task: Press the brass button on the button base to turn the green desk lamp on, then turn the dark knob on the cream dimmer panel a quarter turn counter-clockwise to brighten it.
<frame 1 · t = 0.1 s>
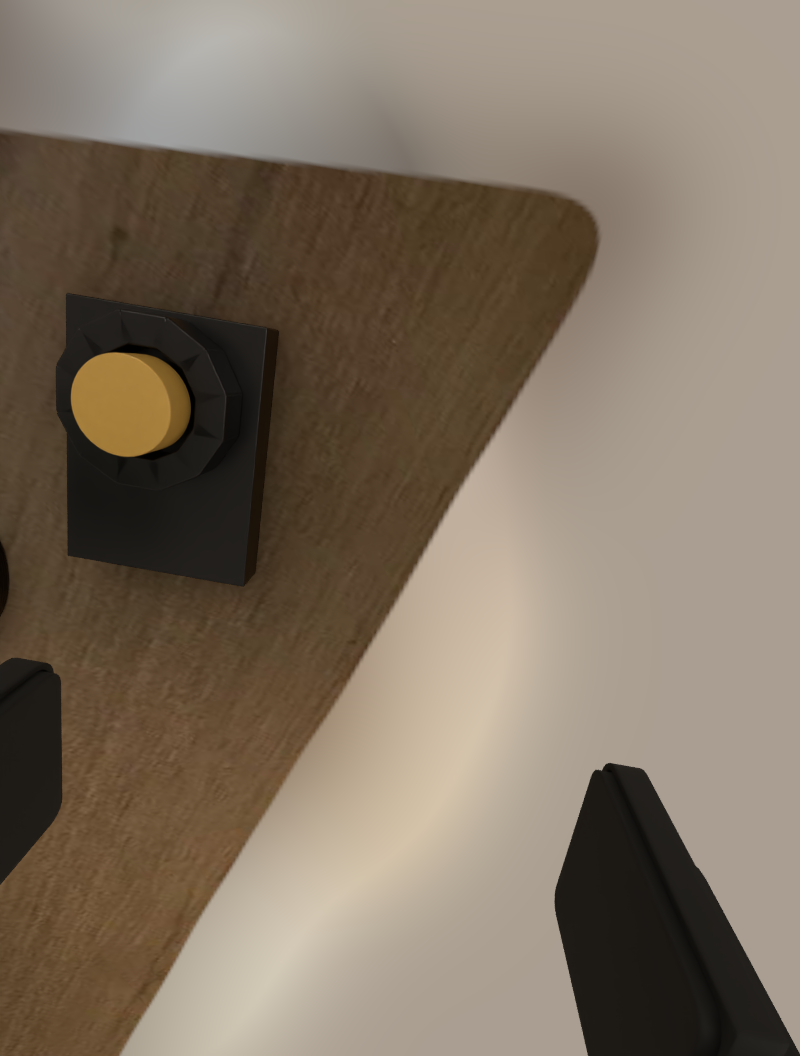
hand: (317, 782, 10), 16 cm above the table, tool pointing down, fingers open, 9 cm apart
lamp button: (133, 404, 20), point 4 cm above the table, slide at 0.1 cm
button base: (178, 444, 25), on the table
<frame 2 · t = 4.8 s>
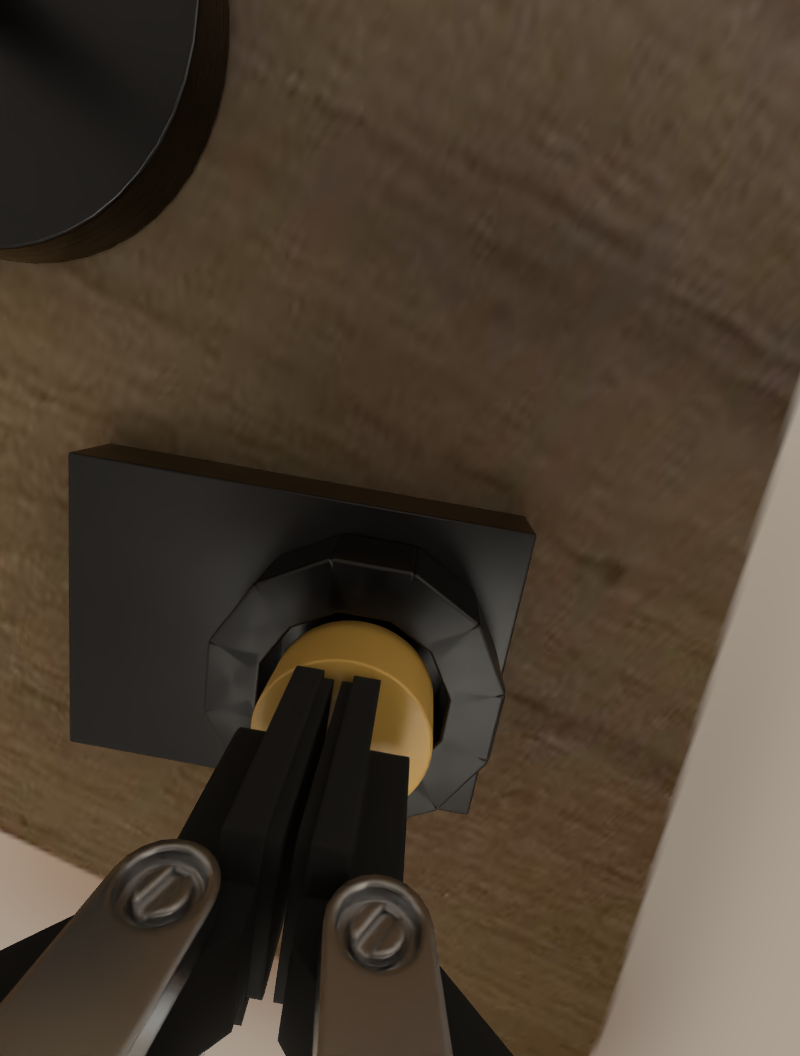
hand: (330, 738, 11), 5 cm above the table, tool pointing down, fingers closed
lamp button: (347, 715, 12), point 4 cm above the table, slide at 0.1 cm, touching gripper
button base: (299, 618, 15), on the table
desk lamp: (3, 11, 12), on the table
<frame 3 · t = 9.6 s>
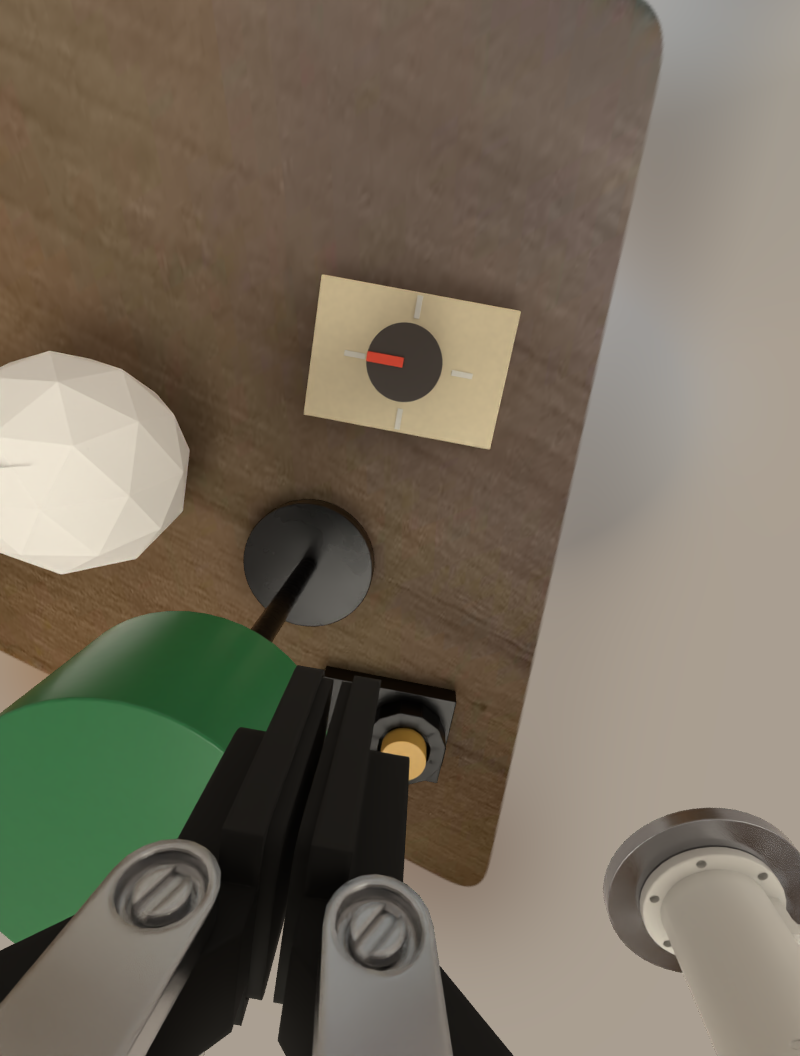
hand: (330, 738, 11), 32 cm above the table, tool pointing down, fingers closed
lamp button: (403, 753, 43), point 4 cm above the table, slide at 0.1 cm
button base: (383, 718, 47), on the table
desk lamp: (311, 560, 44), on the table
geodesic sphere: (132, 450, 42), on the table
dimmer knob: (406, 363, 34), point 6 cm above the table, hinge at 0.0°
dimmer panel: (410, 365, 39), on the table
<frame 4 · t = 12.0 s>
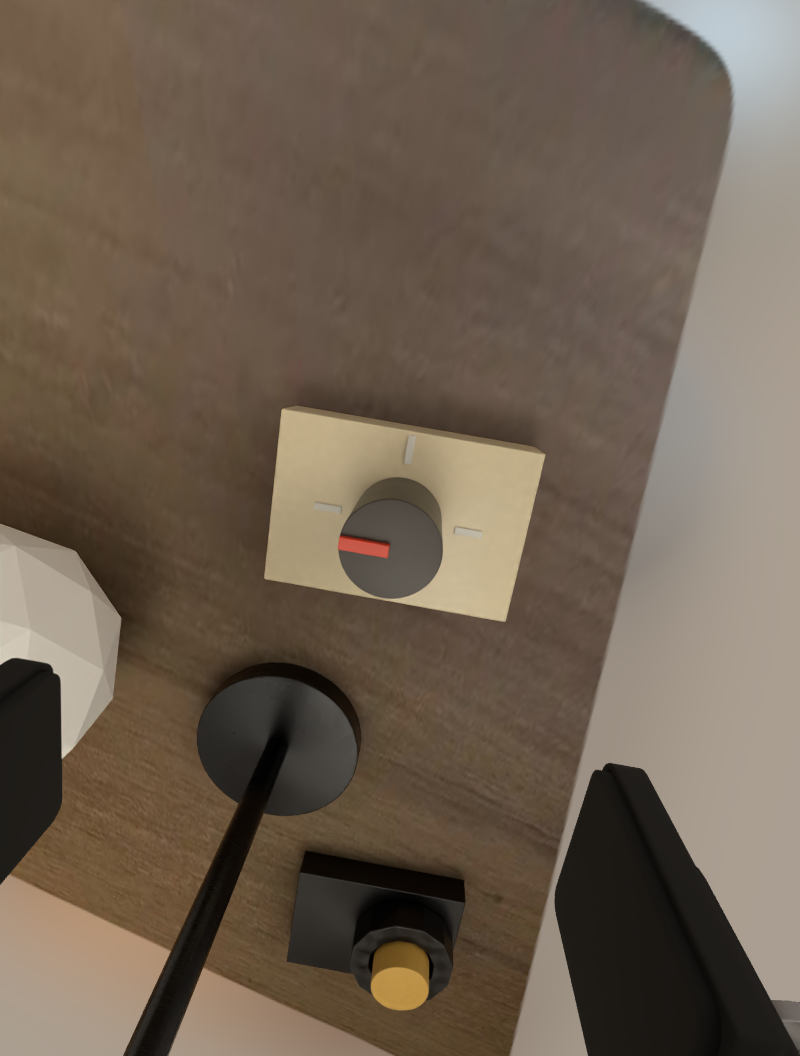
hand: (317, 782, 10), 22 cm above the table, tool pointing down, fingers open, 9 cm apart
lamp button: (400, 974, 35), point 4 cm above the table, slide at 0.1 cm
button base: (375, 909, 39), on the table
desk lamp: (283, 732, 35), on the table
geodesic sphere: (56, 604, 34), on the table
dimmer knob: (394, 534, 25), point 6 cm above the table, hinge at 0.0°
dimmer panel: (401, 506, 31), on the table
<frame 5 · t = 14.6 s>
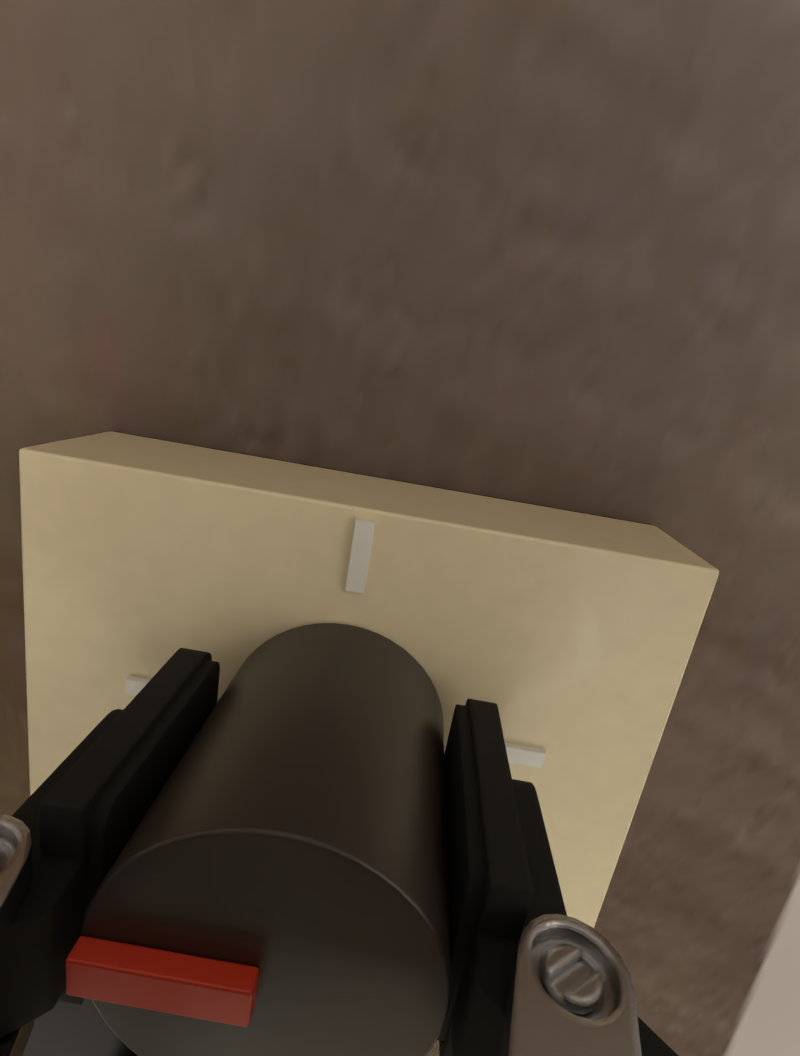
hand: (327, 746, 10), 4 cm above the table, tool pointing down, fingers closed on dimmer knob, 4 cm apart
desk lamp: (144, 1039, 19), on the table
dimmer knob: (306, 823, 9), point 6 cm above the table, hinge at 0.1°, touching gripper
dimmer panel: (355, 648, 14), on the table
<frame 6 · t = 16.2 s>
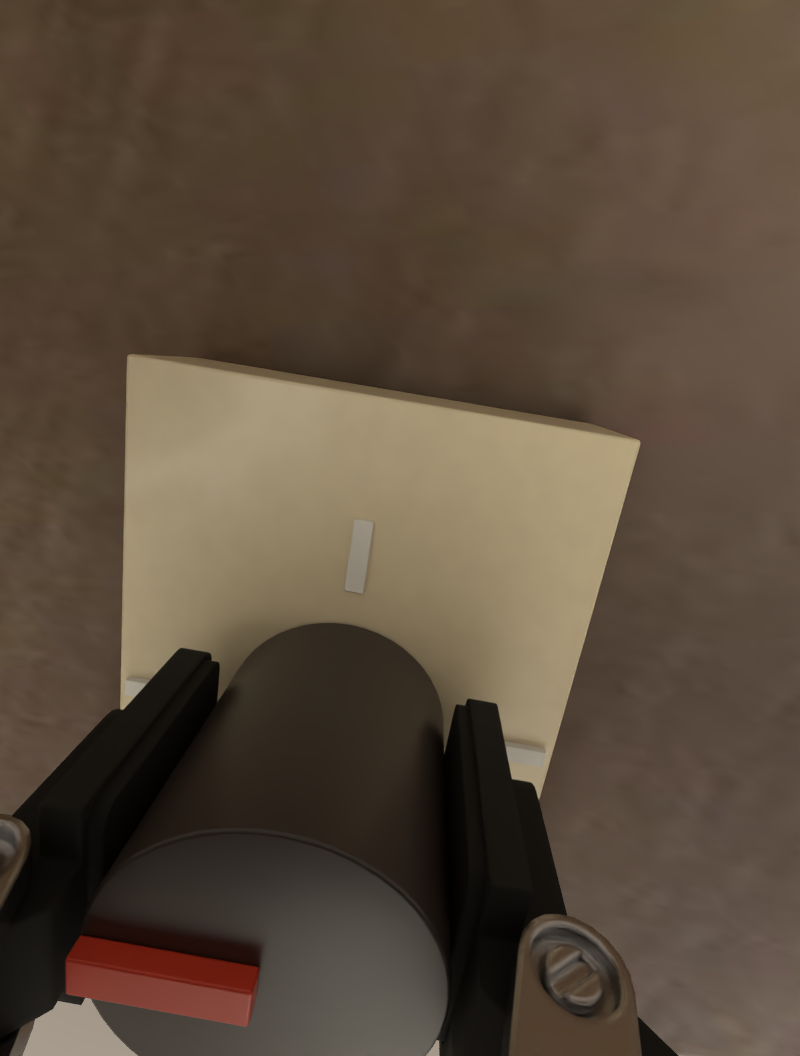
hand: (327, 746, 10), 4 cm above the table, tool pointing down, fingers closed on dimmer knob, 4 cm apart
dimmer knob: (306, 823, 9), point 6 cm above the table, hinge at 89.7°, touching gripper
dimmer panel: (354, 647, 14), on the table
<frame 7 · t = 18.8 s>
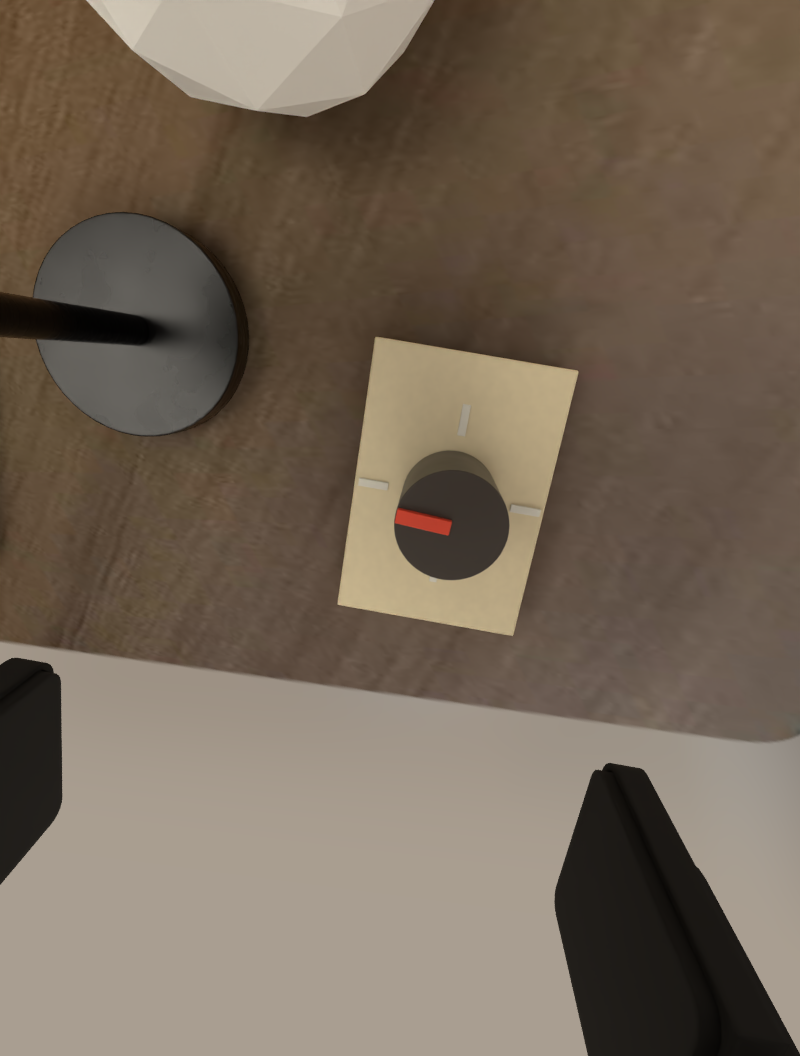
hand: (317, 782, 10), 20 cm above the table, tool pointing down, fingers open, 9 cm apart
desk lamp: (151, 332, 28), on the table
dimmer knob: (450, 511, 23), point 6 cm above the table, hinge at 86.6°
dimmer panel: (447, 483, 29), on the table
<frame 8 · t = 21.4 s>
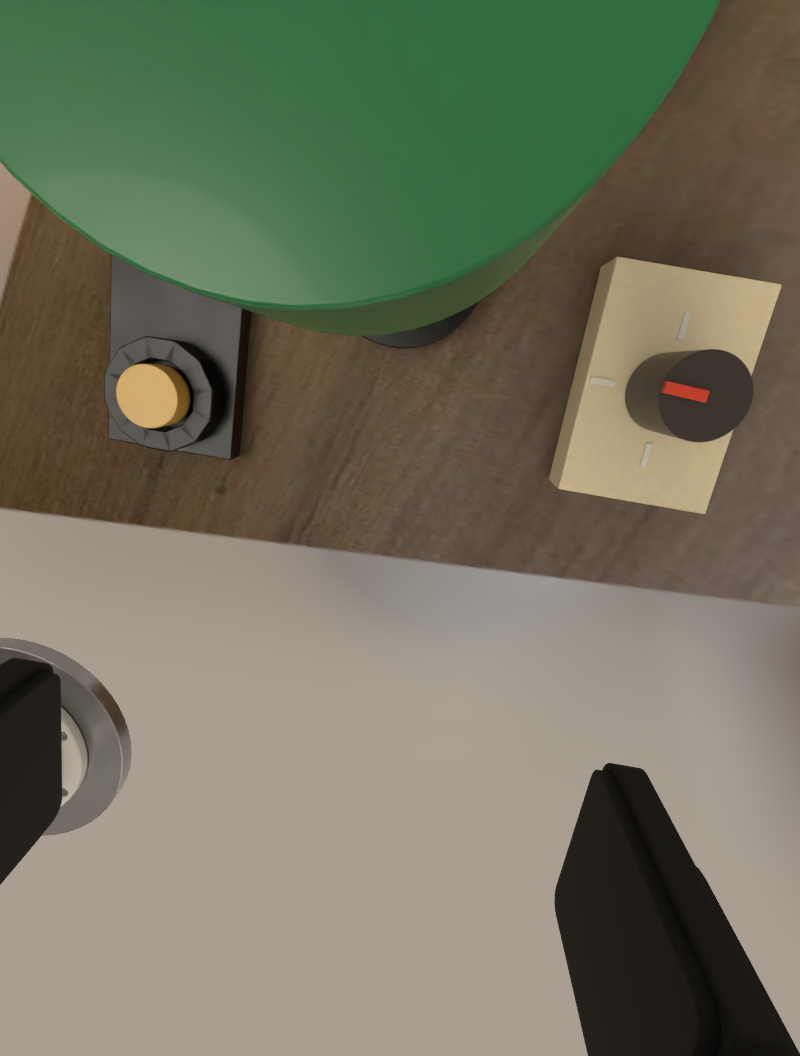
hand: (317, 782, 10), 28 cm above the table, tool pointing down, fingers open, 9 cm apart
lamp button: (154, 395, 32), point 4 cm above the table, slide at 0.1 cm
button base: (185, 361, 35), on the table
desk lamp: (404, 260, 33), on the table
dimmer knob: (684, 394, 29), point 6 cm above the table, hinge at 86.6°
dimmer panel: (644, 390, 34), on the table
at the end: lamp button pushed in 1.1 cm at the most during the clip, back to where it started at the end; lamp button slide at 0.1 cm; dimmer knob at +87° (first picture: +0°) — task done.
